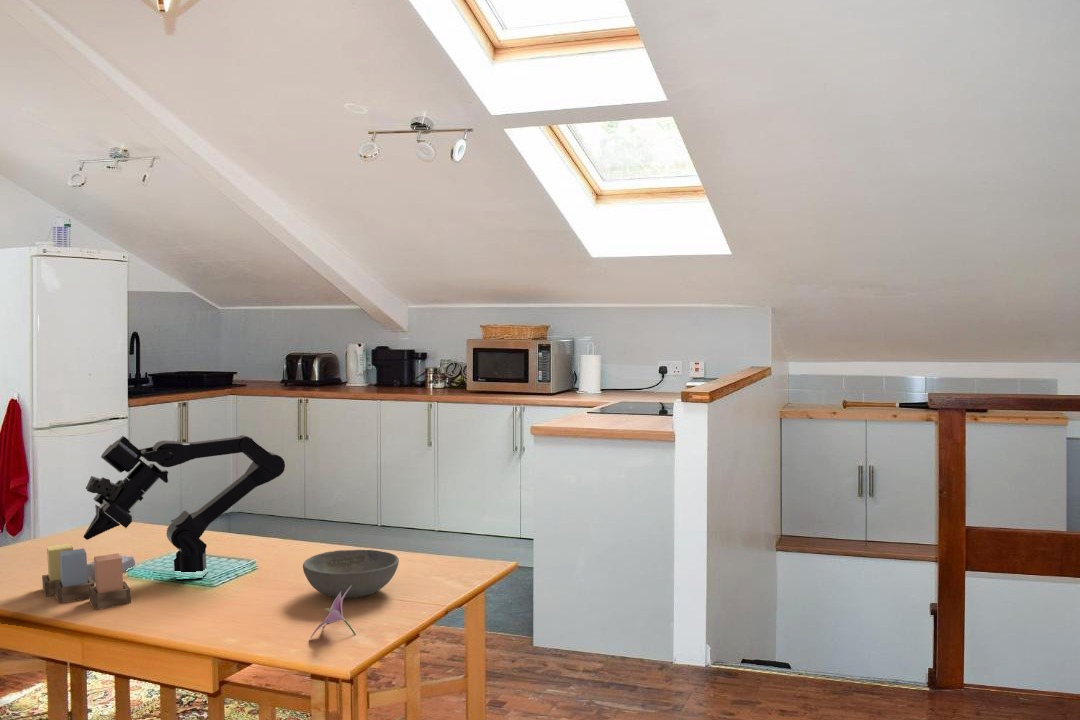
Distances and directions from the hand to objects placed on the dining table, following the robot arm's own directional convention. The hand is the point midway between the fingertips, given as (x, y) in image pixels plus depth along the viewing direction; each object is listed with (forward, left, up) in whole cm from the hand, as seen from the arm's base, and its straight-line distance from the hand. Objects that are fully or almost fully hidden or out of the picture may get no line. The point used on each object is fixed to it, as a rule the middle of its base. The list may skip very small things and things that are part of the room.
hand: (85, 538), depth 213 cm
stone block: (+2, -17, -13) cm, 22 cm away
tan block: (-7, +8, -10) cm, 15 cm away
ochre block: (+7, -5, -10) cm, 13 cm away
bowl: (-61, +12, -13) cm, 63 cm away
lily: (-59, +38, -13) cm, 72 cm away
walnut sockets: (0, +1, -13) cm, 13 cm away
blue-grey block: (+2, +1, -10) cm, 11 cm away
